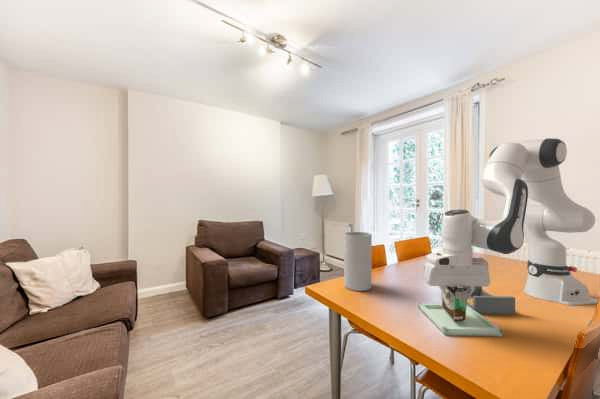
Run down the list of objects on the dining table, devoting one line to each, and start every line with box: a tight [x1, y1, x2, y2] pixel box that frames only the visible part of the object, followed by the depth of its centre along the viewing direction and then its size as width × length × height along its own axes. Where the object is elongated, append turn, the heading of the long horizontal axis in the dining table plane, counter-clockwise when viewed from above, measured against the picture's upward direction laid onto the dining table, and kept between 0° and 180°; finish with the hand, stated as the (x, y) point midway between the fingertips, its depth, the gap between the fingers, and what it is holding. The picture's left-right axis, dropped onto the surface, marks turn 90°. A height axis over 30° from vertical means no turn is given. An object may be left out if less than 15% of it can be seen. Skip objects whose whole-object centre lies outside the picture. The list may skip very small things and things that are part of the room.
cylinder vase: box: [343, 231, 373, 292], centre depth 111 cm, size 12×12×25 cm
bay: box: [467, 286, 516, 315], centre depth 93 cm, size 14×17×6 cm
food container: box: [441, 286, 470, 322], centre depth 80 cm, size 12×6×10 cm, turn 169°
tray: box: [417, 302, 504, 337], centre depth 80 cm, size 17×17×2 cm
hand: (456, 298), depth 80 cm, fingers closed on food container, 5 cm apart
